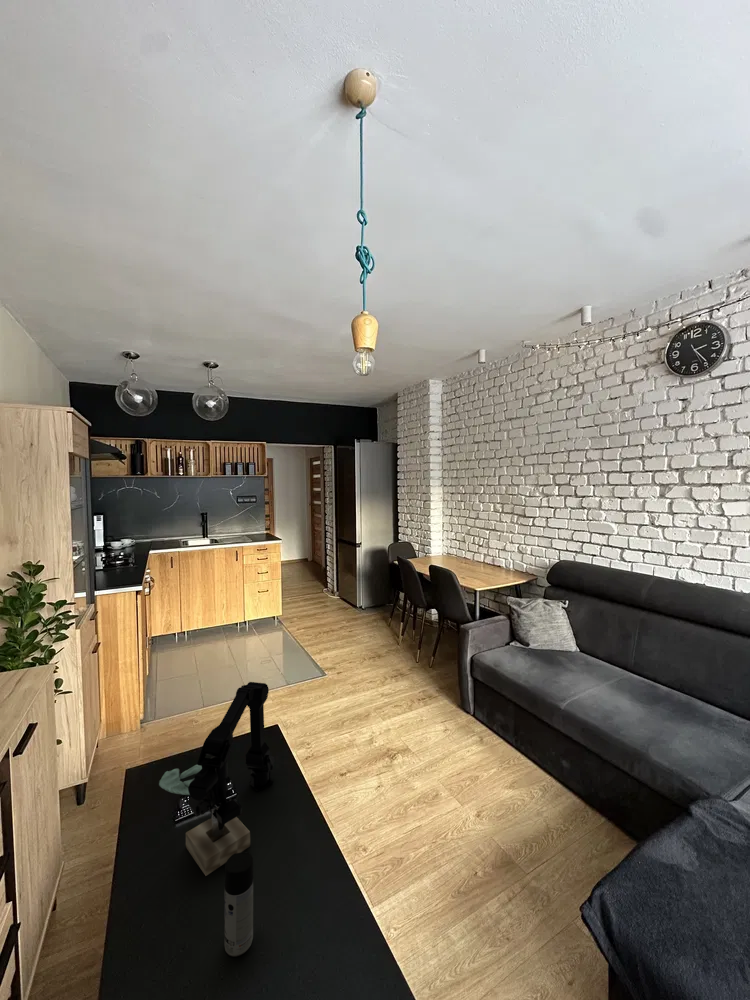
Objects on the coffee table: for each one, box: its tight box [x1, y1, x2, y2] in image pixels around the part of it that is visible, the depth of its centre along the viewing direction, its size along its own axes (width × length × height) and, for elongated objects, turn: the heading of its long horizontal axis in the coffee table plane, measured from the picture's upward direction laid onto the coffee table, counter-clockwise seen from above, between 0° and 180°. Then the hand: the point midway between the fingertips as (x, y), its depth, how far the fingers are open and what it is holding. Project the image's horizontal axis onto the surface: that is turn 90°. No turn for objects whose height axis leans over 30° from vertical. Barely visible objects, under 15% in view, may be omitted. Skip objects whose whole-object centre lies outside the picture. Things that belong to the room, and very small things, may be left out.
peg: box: [211, 805, 224, 837], centre depth 129 cm, size 4×4×8 cm
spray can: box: [223, 851, 254, 958], centre depth 101 cm, size 7×7×20 cm
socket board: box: [185, 816, 251, 877], centre depth 129 cm, size 14×14×4 cm
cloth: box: [158, 764, 202, 796], centre depth 159 cm, size 20×22×2 cm
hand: (218, 825), depth 129 cm, fingers closed on peg, 3 cm apart
